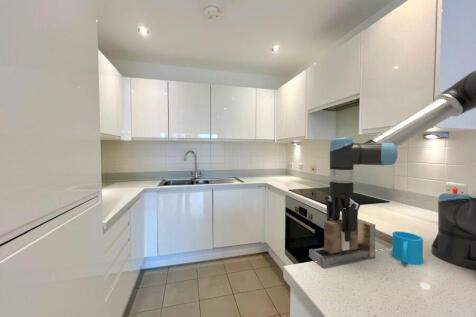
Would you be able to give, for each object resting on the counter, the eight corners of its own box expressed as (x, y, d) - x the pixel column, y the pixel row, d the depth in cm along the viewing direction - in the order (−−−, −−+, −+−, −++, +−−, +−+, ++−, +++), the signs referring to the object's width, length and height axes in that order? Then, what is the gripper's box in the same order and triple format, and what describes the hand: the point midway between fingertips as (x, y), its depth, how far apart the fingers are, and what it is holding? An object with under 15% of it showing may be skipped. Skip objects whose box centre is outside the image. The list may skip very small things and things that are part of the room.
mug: (394, 250, 75) (394, 229, 75) (423, 258, 69) (423, 235, 69) (388, 262, 67) (388, 238, 67) (421, 272, 61) (421, 246, 61)
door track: (356, 248, 77) (357, 218, 77) (375, 258, 70) (375, 224, 69) (309, 257, 70) (309, 223, 70) (324, 268, 63) (324, 231, 63)
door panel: (350, 245, 73) (350, 218, 73) (357, 248, 70) (357, 220, 70) (324, 249, 69) (324, 221, 69) (330, 253, 66) (330, 224, 66)
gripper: (316, 179, 76) (316, 239, 76) (352, 184, 61) (352, 260, 61) (332, 178, 78) (332, 237, 78) (370, 183, 63) (370, 256, 63)
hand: (340, 247), depth 70 cm, fingers open, 3 cm apart
